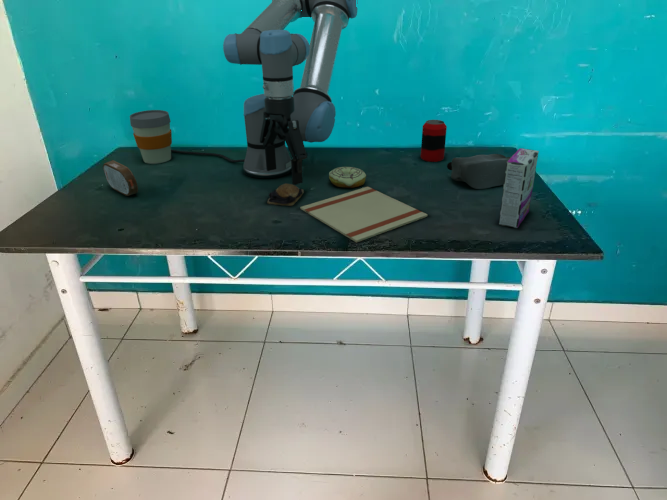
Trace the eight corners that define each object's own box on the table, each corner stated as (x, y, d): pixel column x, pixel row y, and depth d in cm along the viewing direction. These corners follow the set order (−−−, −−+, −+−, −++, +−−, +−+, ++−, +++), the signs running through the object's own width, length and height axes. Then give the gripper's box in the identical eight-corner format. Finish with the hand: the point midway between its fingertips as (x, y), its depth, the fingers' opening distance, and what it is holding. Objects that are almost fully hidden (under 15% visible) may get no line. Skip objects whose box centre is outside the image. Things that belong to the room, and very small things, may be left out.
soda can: (445, 162, 168) (449, 125, 162) (422, 162, 168) (424, 125, 163) (441, 154, 175) (444, 118, 169) (419, 154, 175) (421, 119, 169)
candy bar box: (509, 208, 136) (519, 147, 128) (529, 212, 134) (540, 150, 126) (496, 224, 128) (506, 160, 120) (517, 229, 126) (528, 164, 118)
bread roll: (279, 189, 151) (278, 177, 149) (306, 192, 148) (306, 179, 147) (264, 203, 142) (262, 191, 140) (293, 206, 140) (292, 194, 138)
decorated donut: (353, 192, 147) (352, 180, 146) (322, 184, 153) (321, 172, 151) (372, 180, 155) (372, 168, 153) (342, 174, 160) (342, 162, 158)
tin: (141, 196, 147) (135, 168, 143) (130, 200, 145) (124, 171, 141) (115, 183, 157) (109, 156, 152) (105, 186, 155) (98, 159, 150)
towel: (300, 208, 138) (300, 206, 138) (367, 188, 150) (367, 186, 150) (356, 242, 121) (356, 240, 121) (427, 216, 133) (427, 214, 132)
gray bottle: (500, 171, 160) (503, 146, 156) (520, 184, 150) (524, 158, 147) (444, 177, 156) (446, 152, 152) (461, 191, 147) (464, 165, 143)
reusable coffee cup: (148, 152, 182) (139, 109, 175) (182, 153, 180) (175, 110, 173) (131, 164, 171) (121, 119, 164) (167, 166, 170) (159, 120, 162)
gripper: (242, 90, 139) (250, 167, 149) (292, 107, 121) (297, 193, 131) (267, 87, 143) (272, 161, 153) (319, 103, 125) (321, 186, 135)
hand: (284, 176), depth 142 cm, fingers open, 13 cm apart
